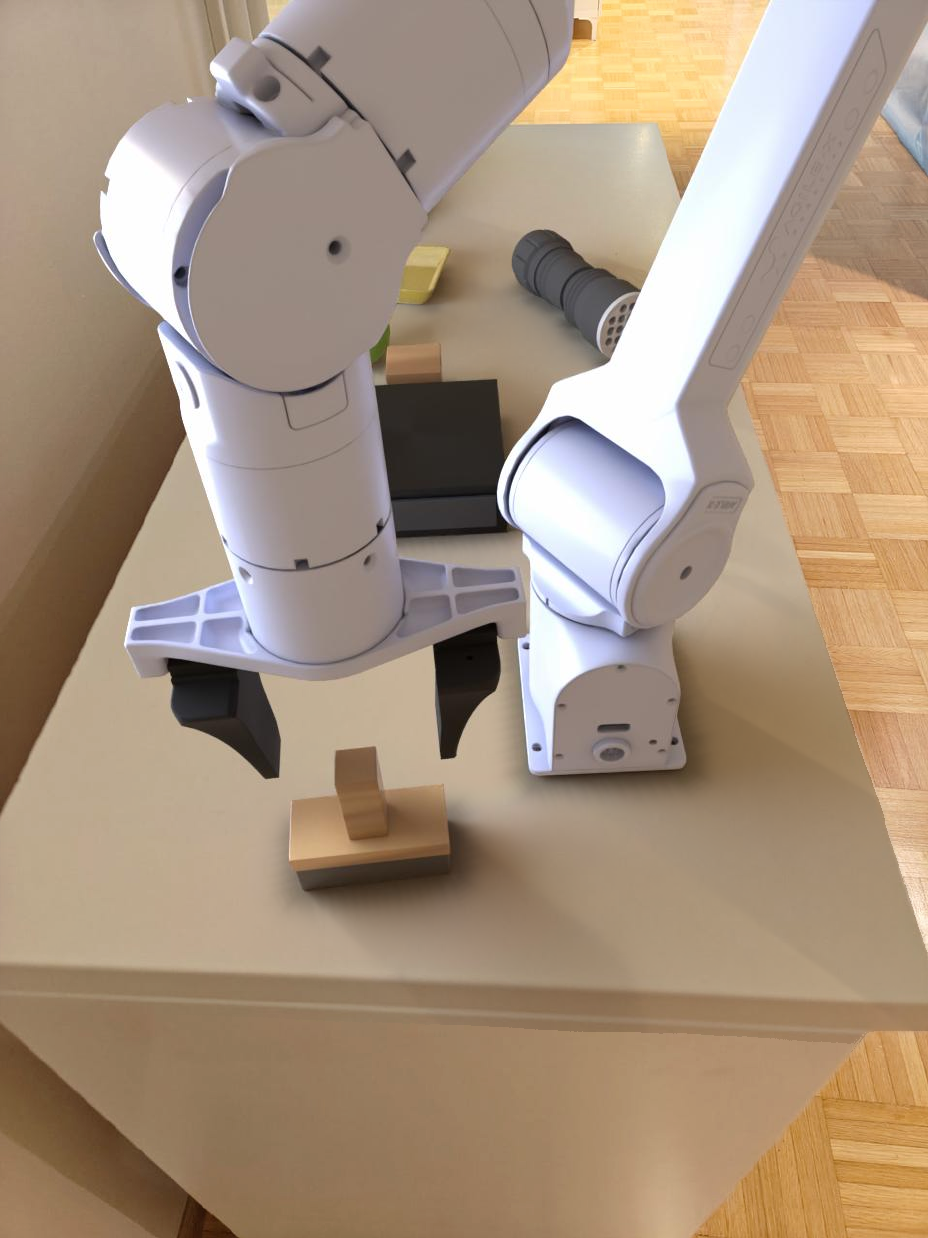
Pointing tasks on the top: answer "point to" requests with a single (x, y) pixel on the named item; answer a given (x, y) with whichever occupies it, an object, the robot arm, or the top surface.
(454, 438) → the box
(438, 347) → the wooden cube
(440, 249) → the yellow square dish
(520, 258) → the flashlight
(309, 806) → the brush
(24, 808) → the top surface
